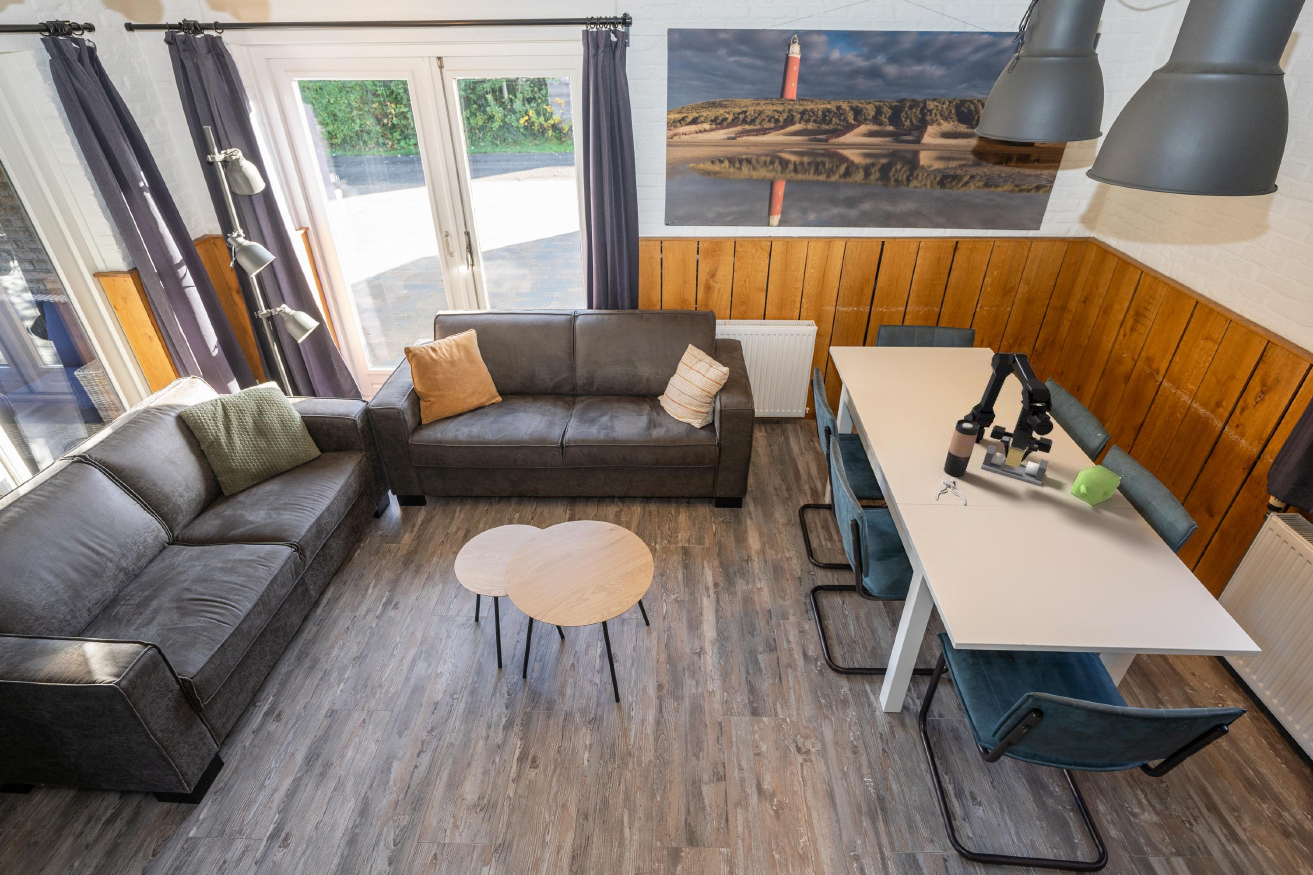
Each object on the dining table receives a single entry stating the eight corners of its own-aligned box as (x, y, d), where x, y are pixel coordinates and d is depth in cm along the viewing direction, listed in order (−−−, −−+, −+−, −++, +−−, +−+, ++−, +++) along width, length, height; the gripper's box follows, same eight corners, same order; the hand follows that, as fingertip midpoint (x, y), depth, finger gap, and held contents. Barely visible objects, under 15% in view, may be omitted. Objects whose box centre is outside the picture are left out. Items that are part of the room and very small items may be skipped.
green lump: (1087, 512, 225) (1098, 490, 220) (1061, 496, 232) (1071, 474, 227) (1120, 498, 232) (1132, 477, 227) (1094, 483, 239) (1104, 461, 234)
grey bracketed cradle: (980, 468, 246) (985, 454, 243) (985, 456, 254) (990, 442, 251) (1040, 485, 237) (1046, 471, 234) (1043, 473, 245) (1049, 459, 242)
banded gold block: (1018, 468, 231) (1023, 454, 228) (1004, 463, 233) (1009, 450, 230) (1020, 460, 235) (1025, 446, 232) (1006, 456, 237) (1011, 443, 234)
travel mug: (965, 469, 246) (980, 422, 236) (964, 479, 240) (979, 431, 230) (943, 464, 248) (957, 417, 238) (942, 474, 242) (956, 426, 232)
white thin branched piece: (936, 496, 228) (933, 473, 240) (934, 500, 229) (932, 477, 241) (966, 502, 225) (962, 478, 238) (965, 506, 226) (961, 482, 239)
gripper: (994, 422, 224) (981, 461, 232) (1055, 438, 215) (1040, 478, 223) (999, 409, 232) (986, 447, 240) (1058, 424, 224) (1043, 463, 232)
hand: (1013, 459), depth 233 cm, fingers closed on banded gold block, 5 cm apart
